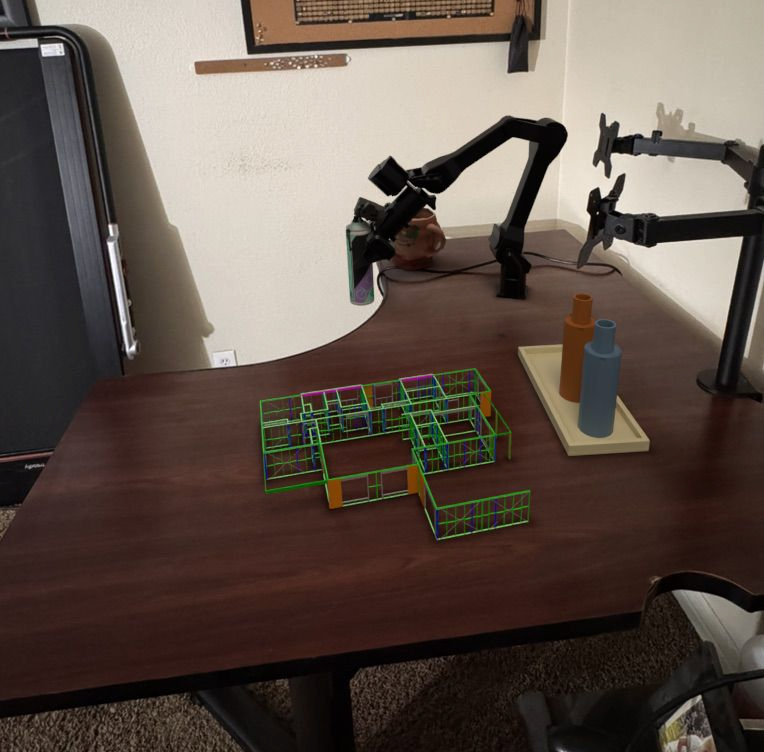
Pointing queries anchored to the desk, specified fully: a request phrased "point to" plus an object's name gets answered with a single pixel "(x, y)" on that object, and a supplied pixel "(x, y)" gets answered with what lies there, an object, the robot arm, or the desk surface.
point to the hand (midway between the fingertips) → (353, 261)
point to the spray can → (361, 277)
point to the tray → (576, 408)
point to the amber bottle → (575, 346)
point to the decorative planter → (419, 241)
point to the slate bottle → (600, 381)
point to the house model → (413, 471)
